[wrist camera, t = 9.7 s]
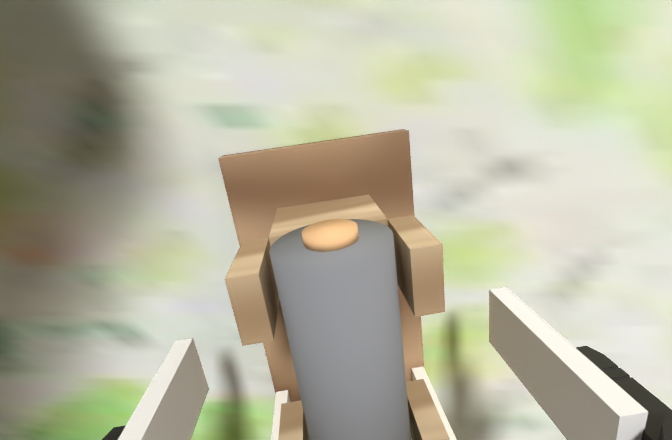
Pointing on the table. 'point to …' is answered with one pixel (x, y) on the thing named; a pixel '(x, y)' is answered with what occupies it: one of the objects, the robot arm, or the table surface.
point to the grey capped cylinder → (344, 328)
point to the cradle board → (318, 183)
